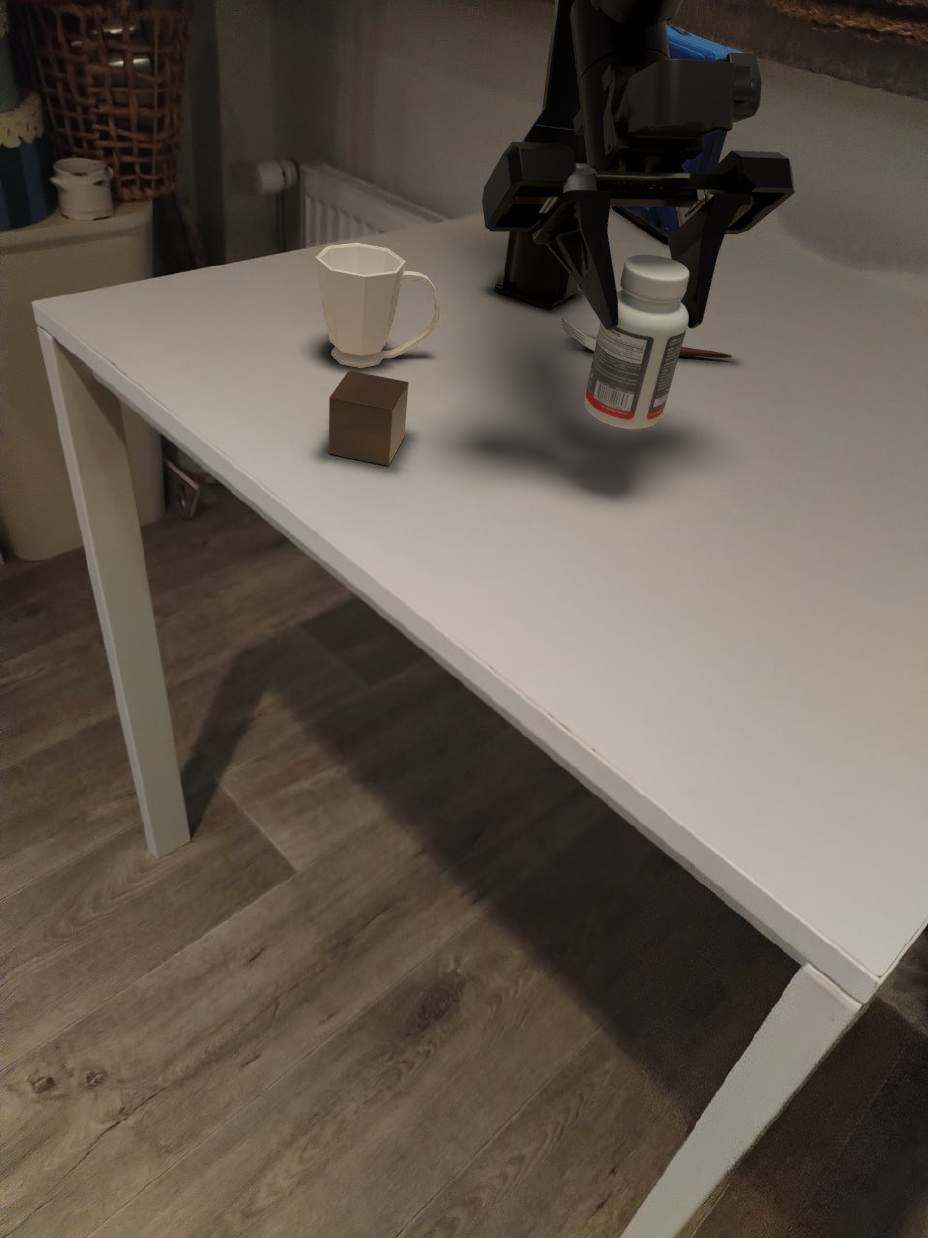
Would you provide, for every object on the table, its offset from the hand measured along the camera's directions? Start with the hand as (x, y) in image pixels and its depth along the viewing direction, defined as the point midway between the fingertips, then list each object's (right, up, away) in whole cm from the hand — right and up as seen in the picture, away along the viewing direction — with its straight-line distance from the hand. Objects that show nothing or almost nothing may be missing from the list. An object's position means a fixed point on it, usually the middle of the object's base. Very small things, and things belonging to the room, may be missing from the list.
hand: (654, 326), depth 56 cm
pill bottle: (-1, -4, +5) cm, 7 cm away
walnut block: (-19, -6, +9) cm, 21 cm away
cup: (-19, +4, +20) cm, 28 cm away
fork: (+5, +6, +27) cm, 28 cm away
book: (+11, +30, +55) cm, 64 cm away
